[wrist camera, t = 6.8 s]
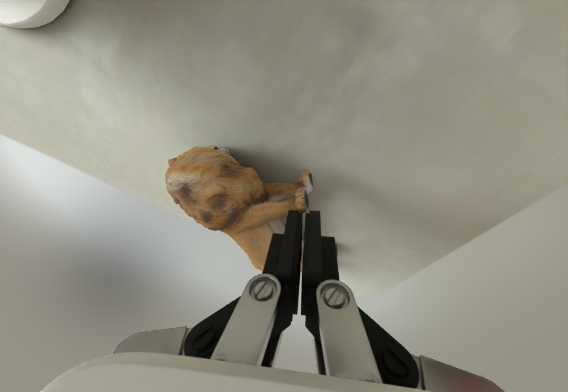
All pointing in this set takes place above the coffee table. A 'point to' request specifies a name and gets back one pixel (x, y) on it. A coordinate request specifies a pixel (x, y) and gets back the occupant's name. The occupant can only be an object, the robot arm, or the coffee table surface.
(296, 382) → the robot arm
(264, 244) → the lion figurine
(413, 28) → the coffee table surface
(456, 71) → the coffee table surface
